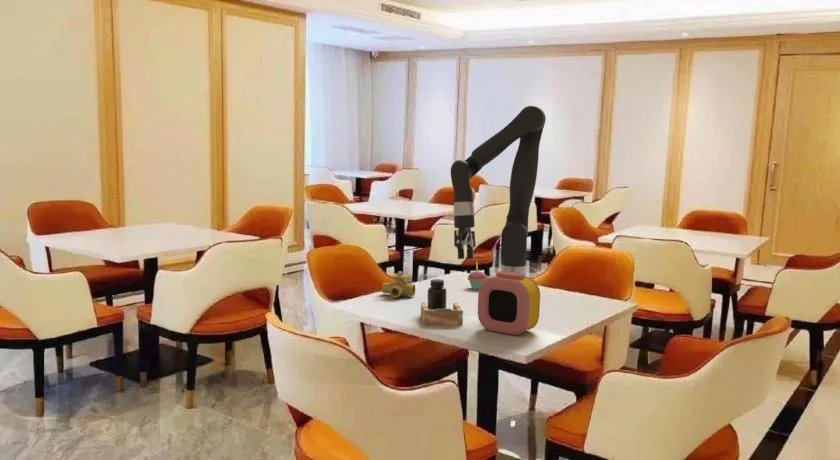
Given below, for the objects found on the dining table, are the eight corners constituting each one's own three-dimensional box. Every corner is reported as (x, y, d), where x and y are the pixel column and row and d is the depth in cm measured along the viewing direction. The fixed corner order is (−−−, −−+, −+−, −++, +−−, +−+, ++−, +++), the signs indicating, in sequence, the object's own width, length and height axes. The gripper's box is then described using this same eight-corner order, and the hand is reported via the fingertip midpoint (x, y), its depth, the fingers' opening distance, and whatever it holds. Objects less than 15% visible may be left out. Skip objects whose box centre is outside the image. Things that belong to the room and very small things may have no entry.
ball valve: (416, 295, 294) (416, 270, 293) (409, 300, 284) (409, 275, 283) (386, 293, 297) (386, 268, 296) (378, 298, 288) (378, 273, 286)
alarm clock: (475, 329, 244) (477, 272, 242) (490, 322, 253) (493, 267, 251) (525, 339, 234) (528, 279, 232) (540, 331, 243) (543, 274, 241)
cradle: (420, 316, 259) (420, 301, 258) (456, 316, 260) (457, 302, 260) (424, 325, 247) (424, 309, 247) (462, 325, 249) (462, 309, 248)
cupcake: (464, 286, 313) (465, 259, 312) (482, 286, 316) (484, 258, 314) (471, 290, 305) (472, 262, 304) (490, 290, 308) (491, 261, 306)
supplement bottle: (435, 309, 270) (435, 277, 269) (449, 312, 266) (450, 280, 264) (423, 312, 265) (424, 280, 263) (438, 316, 261) (439, 283, 259)
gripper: (465, 213, 262) (467, 258, 261) (480, 215, 275) (482, 258, 274) (446, 214, 265) (448, 259, 264) (462, 216, 278) (463, 259, 277)
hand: (465, 258), depth 269 cm, fingers open, 8 cm apart
